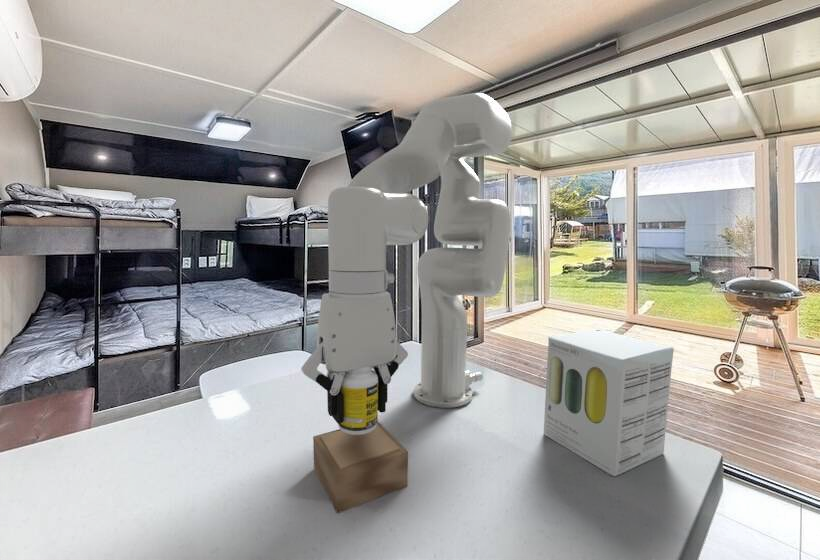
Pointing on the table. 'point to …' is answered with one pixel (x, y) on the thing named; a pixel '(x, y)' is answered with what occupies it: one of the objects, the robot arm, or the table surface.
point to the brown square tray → (359, 466)
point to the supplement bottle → (360, 401)
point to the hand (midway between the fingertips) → (358, 412)
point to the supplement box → (608, 397)
